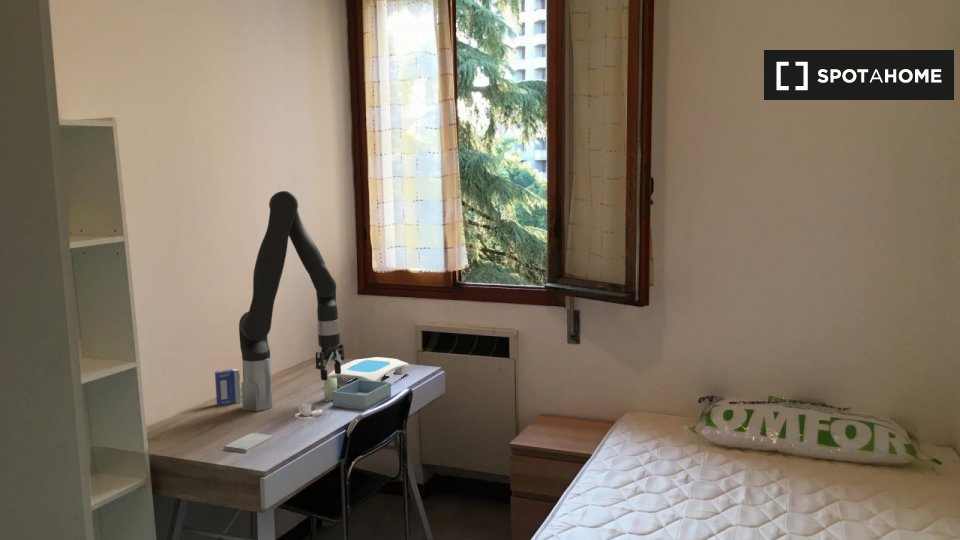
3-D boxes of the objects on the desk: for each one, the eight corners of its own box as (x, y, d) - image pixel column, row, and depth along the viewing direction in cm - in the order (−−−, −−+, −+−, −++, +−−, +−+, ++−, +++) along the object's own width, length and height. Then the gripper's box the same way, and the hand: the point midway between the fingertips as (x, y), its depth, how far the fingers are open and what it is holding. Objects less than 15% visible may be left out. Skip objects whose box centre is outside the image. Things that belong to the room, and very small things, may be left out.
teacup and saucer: (326, 415, 245) (325, 403, 245) (309, 421, 238) (308, 409, 238) (306, 411, 250) (306, 399, 249) (289, 417, 243) (289, 405, 242)
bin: (365, 410, 249) (365, 395, 248) (332, 405, 254) (332, 391, 253) (391, 396, 264) (390, 382, 264) (359, 392, 269) (359, 379, 269)
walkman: (218, 406, 255) (216, 372, 253) (216, 404, 257) (214, 370, 256) (241, 402, 259) (239, 369, 258) (239, 400, 261) (237, 367, 260)
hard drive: (246, 449, 210) (273, 435, 222) (223, 446, 213) (250, 432, 225) (246, 454, 210) (273, 440, 222) (223, 451, 213) (251, 437, 225)
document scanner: (410, 374, 295) (409, 359, 294) (374, 393, 269) (374, 377, 268) (364, 370, 302) (364, 355, 302) (325, 388, 277) (325, 372, 276)
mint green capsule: (332, 401, 259) (332, 380, 258) (321, 400, 261) (321, 379, 260) (340, 398, 263) (339, 377, 262) (329, 396, 265) (328, 376, 264)
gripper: (326, 337, 251) (329, 383, 253) (348, 328, 264) (351, 372, 266) (307, 335, 254) (310, 381, 256) (331, 327, 267) (333, 370, 269)
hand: (331, 376), depth 261 cm, fingers open, 8 cm apart
